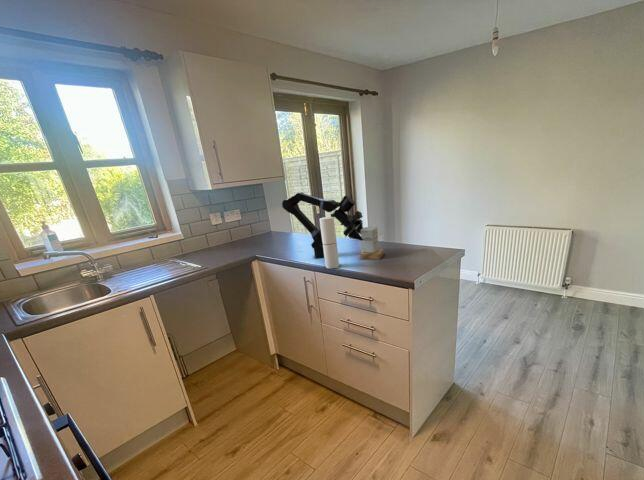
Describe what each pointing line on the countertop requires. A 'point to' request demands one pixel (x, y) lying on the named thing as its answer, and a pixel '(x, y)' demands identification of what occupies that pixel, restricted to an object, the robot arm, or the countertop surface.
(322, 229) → the cylindrical container
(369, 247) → the white packaging box
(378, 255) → the tan flat block
